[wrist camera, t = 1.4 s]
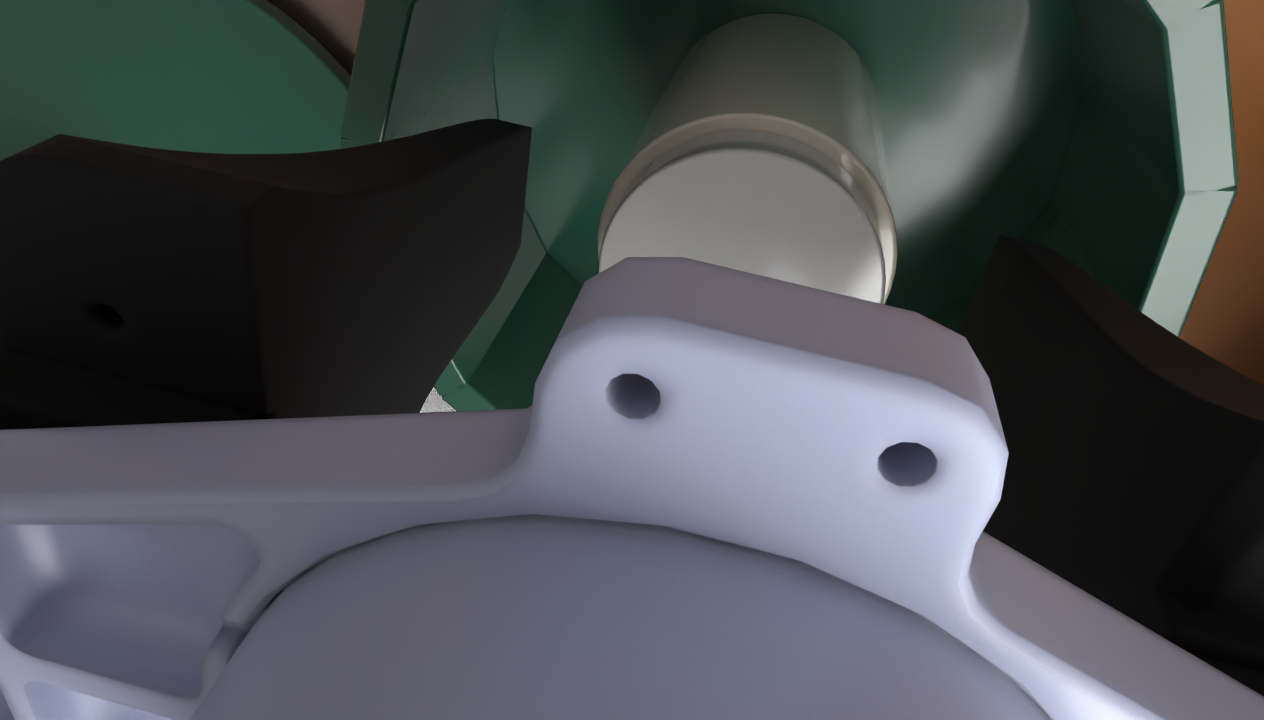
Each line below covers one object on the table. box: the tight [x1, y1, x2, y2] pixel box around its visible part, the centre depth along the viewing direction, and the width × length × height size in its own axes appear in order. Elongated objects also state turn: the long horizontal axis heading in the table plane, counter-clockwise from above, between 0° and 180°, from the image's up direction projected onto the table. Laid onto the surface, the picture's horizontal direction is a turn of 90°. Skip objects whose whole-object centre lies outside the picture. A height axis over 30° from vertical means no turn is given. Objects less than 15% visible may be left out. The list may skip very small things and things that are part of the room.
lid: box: [0, 0, 351, 346], centre depth 20 cm, size 14×14×6 cm
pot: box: [340, 0, 1238, 411], centre depth 16 cm, size 13×13×6 cm
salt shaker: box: [597, 13, 898, 305], centre depth 15 cm, size 4×4×7 cm
